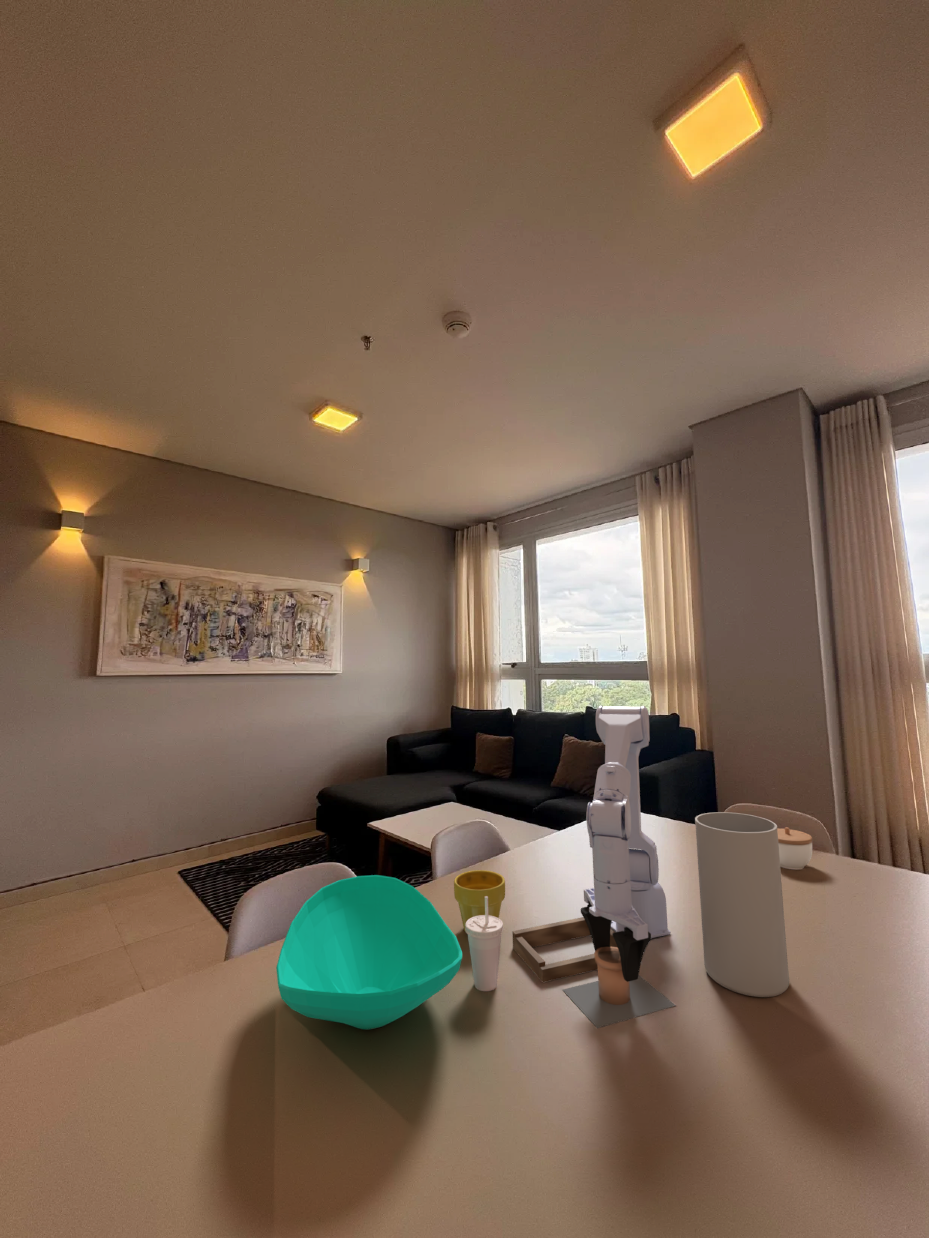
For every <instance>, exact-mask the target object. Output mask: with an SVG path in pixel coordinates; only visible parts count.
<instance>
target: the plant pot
mask: <svg viewBox="0 0 929 1238" xmlns="http://www.w3.org/2000/svg"><path fill="white" fill-rule="evenodd" d="M453 894H454V899H455V901H456V902H457V903H458V904H457V905H458V908H459V913H460V917H461V921H462V922H461V923H462V927H463V931H464V932H465V933H466V931H465V928H466V922H467V920H468V919H470V918H472V917H475V916H480V915H485V896H488V915H489V916H494V917H497V918H499V919H500V913H501V907H502V902H503V901H504V900H505V898H506V879H505V877H504V876H503V875H502V874H501V873H498V872H495V871H492V870H488V869H487V870H486V869H480V870H479V869H477V870H476V869H474V870H469V871H464V872H462V873H459V874H458V875H456V877H455V878H454V881H453Z"/></svg>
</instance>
